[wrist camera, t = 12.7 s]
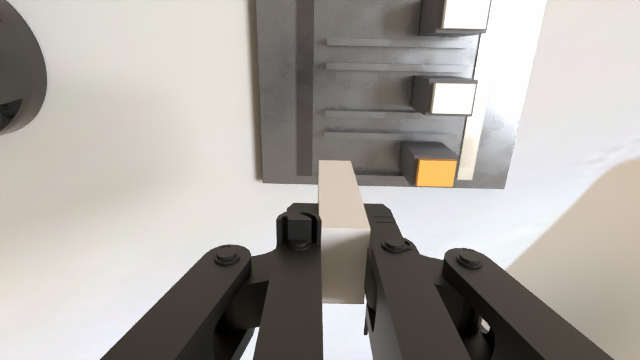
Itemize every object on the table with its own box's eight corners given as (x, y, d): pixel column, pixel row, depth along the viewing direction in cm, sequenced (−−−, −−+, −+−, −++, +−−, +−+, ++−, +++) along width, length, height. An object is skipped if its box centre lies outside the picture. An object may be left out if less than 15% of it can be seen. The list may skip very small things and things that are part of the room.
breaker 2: (411, 107, 34) (427, 116, 29) (414, 75, 33) (431, 79, 28) (451, 107, 34) (474, 118, 29) (456, 76, 33) (481, 80, 28)
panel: (264, 180, 38) (261, 187, 36) (256, -27, 31) (251, -33, 29) (499, 185, 38) (509, 193, 36) (544, -22, 31) (559, -27, 29)
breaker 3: (399, 169, 36) (412, 189, 31) (402, 141, 35) (415, 156, 30) (437, 170, 36) (456, 190, 31) (441, 142, 35) (462, 158, 30)
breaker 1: (419, 35, 32) (437, 32, 26) (423, -1, 31) (443, -13, 25) (462, 36, 32) (489, 33, 26) (468, 0, 31) (497, -11, 25)
